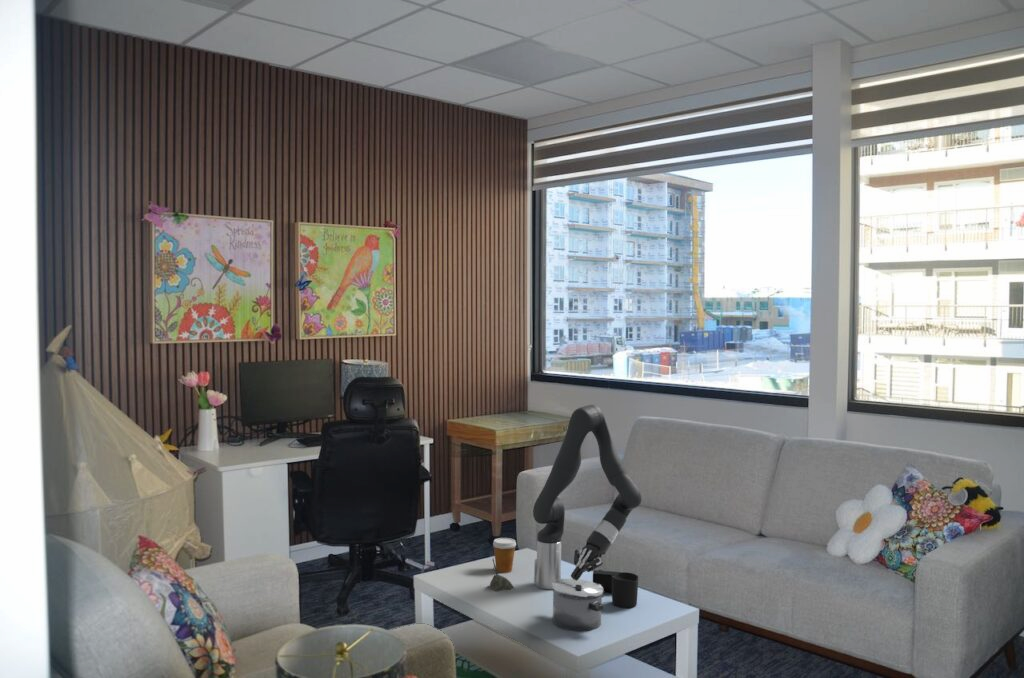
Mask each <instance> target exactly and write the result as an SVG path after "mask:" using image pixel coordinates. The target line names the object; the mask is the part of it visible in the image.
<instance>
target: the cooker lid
mask: <svg viewBox="0 0 1024 678" xmlns="http://www.w3.org/2000/svg"><path fill="white" fill-rule="evenodd" d="M552 588H553V589H554V590H556V591H558V592H560V593H563V594H567V595H571V596H578V597H596V596H600V595H602V594H603V586H602V585H600V584H597V583H595V582H593V581H589V580H586V579H585V580H584V579H580V578H579V579H578V580H577V581H576V580H574V579H573V578H561V579H558V580H555V581H553V582H552ZM553 589H552V590H553Z"/></svg>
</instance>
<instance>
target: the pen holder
mask: <svg viewBox="0 0 1024 678" xmlns="http://www.w3.org/2000/svg"><path fill="white" fill-rule="evenodd" d="M620 572H621V571H620ZM638 591H639V576H638V574H635V573H633V572H629V571H625V572H624V571H622V572H621V573H618V574H617V575H615V576H612V593H611V599H612V600H611V603H612V604H613V605H614V606H615V607H618V608H621V609H622V608H623V609H631V608H634V607H636V606H637V605H638V594H639V593H638Z"/></svg>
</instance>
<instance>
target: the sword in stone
mask: <svg viewBox="0 0 1024 678" xmlns="http://www.w3.org/2000/svg"><path fill="white" fill-rule="evenodd" d="M492 562H493V567H492V568H493V572H494V573H495V574H494V575H493V577H492V579H491V581H490V584H489V585H487V586H486V588H487V589H488V590H491V591H492V592H499V591H509V590H510V591H511V590H513V589H515V587H514V585H513V584H512V582H511V581H510V580H508V579H507V578H506V577H505V576H503V575H500V574H498V569H497V570H496V567H497V566H496V562H495V558H492Z"/></svg>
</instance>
